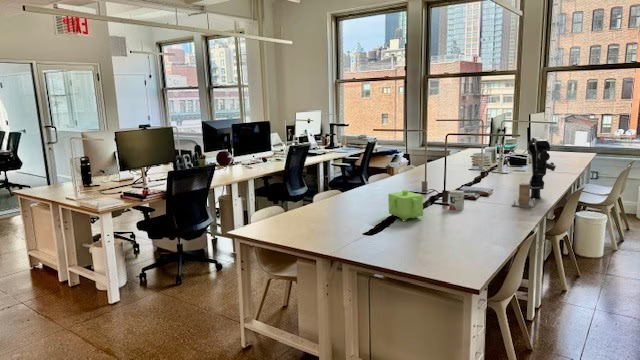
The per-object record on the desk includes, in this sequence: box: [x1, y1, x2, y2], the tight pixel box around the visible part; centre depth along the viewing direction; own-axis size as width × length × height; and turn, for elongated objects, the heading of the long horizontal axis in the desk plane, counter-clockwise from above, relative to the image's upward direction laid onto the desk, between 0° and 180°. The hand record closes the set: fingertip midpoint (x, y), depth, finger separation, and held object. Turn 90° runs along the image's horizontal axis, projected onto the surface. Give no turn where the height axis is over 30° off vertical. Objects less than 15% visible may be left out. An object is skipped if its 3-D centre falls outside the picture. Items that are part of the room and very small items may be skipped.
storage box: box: [387, 189, 424, 221], centre depth 271 cm, size 25×23×17 cm
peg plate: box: [511, 196, 538, 209], centre depth 287 cm, size 12×12×4 cm
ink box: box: [448, 189, 465, 211], centre depth 286 cm, size 9×5×12 cm, turn 62°
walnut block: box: [518, 182, 531, 205], centre depth 286 cm, size 5×5×13 cm
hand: (540, 182), depth 290 cm, fingers open, 9 cm apart
